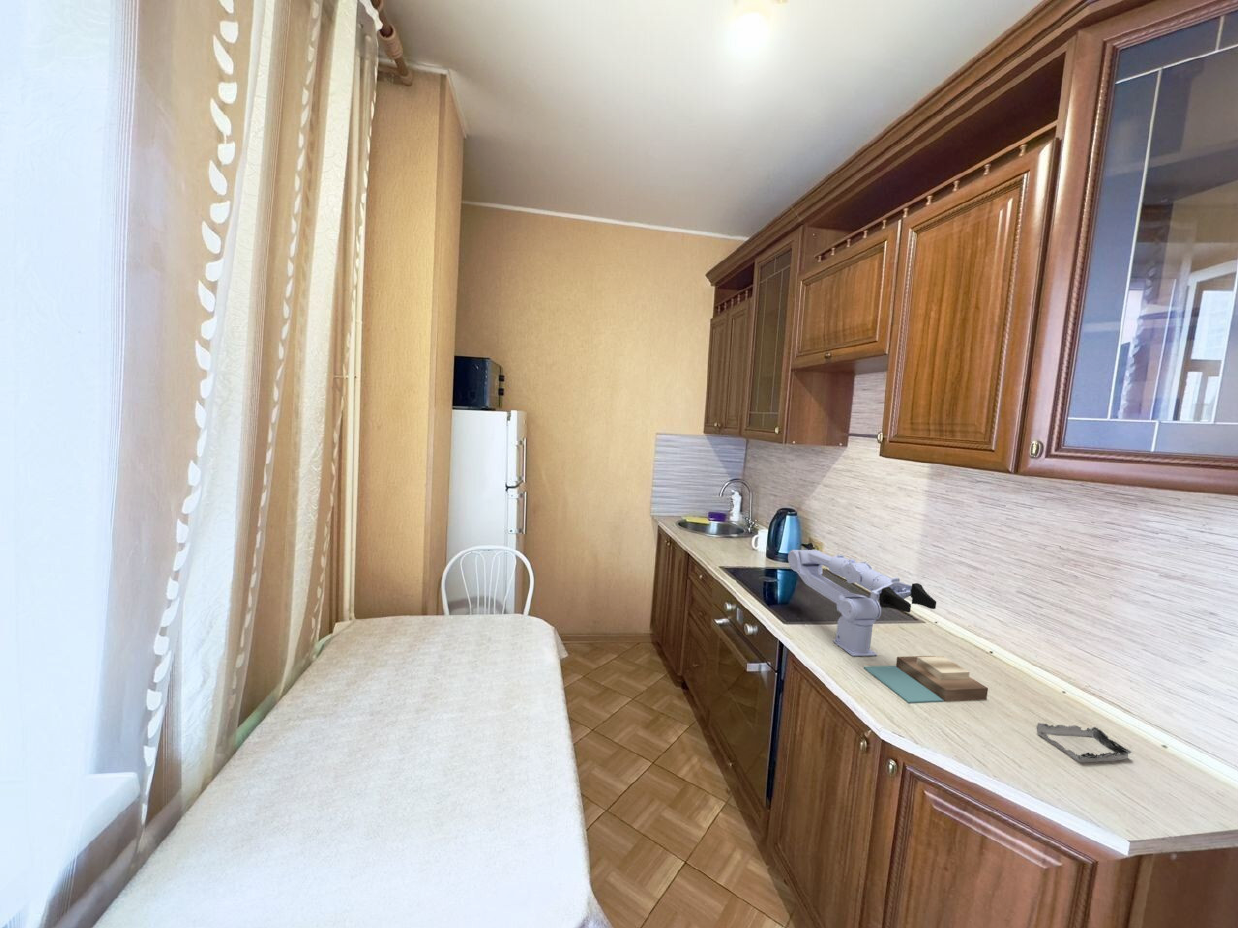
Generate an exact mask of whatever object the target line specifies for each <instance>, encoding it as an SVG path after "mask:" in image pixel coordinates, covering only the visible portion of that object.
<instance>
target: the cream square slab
mask: <svg viewBox="0 0 1238 928" xmlns="http://www.w3.org/2000/svg"><path fill="white" fill-rule="evenodd" d="M933 656H934V657H917V663H916V664H917V665H919V666H920V667H922V668H923V669H925V670H926V671H928V672H929V673H931V674H932V675H934V676H935V677H937V678H938V679H940V680H968V679H969V677H970V670H969V671H968V670H966V669H965V668H963V667H961V666H960V665H958V664H957V663H955V662H953V661H952V660H950V659H949V658H946V657H945V656H944V655H942V656H941V655H940V656H938V655H933Z"/></svg>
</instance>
